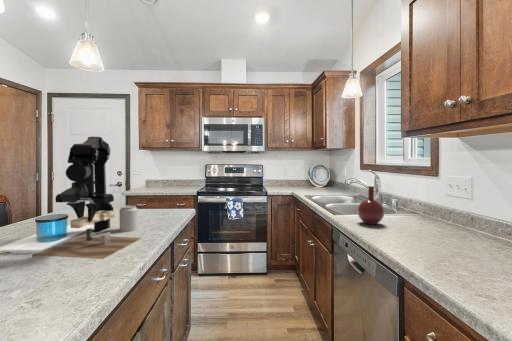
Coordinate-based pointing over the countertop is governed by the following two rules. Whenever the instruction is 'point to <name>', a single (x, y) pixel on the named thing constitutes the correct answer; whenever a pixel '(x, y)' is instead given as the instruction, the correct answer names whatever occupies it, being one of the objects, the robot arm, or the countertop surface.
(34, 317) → the countertop surface
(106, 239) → the keeper
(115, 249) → the base board
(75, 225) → the link
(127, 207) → the can
